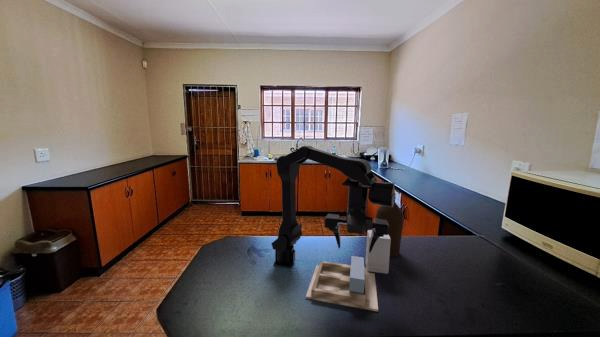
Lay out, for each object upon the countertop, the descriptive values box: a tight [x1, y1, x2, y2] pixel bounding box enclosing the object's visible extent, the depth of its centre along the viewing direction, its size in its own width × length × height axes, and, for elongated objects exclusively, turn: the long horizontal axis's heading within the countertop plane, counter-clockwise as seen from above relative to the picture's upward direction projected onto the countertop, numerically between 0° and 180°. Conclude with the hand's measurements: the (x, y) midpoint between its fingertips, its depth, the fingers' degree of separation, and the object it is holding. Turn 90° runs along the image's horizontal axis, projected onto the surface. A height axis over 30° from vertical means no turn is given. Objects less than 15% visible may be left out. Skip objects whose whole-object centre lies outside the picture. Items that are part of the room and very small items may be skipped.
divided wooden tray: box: [305, 260, 379, 312], centre depth 76 cm, size 20×18×3 cm
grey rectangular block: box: [349, 255, 365, 295], centre depth 74 cm, size 4×13×6 cm, turn 166°
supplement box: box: [365, 230, 391, 275], centre depth 86 cm, size 7×7×13 cm
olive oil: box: [375, 195, 405, 258], centre depth 98 cm, size 11×11×25 cm
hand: (354, 250), depth 75 cm, fingers open, 9 cm apart
